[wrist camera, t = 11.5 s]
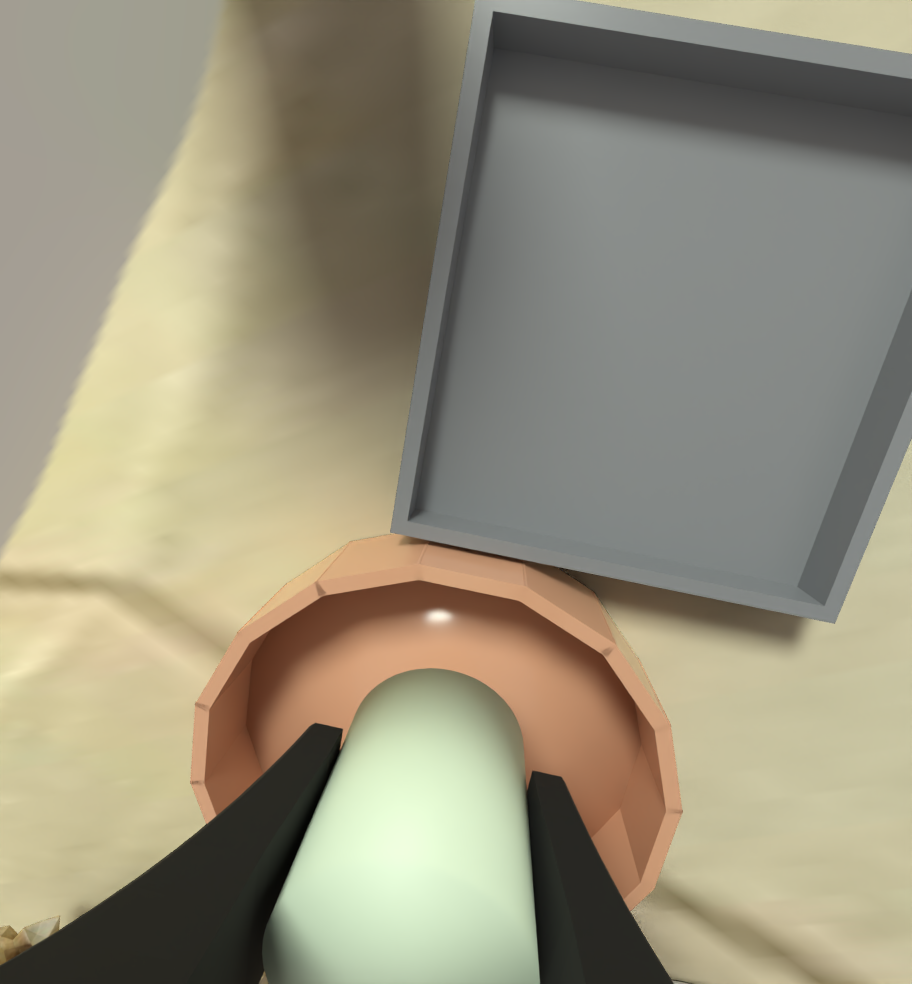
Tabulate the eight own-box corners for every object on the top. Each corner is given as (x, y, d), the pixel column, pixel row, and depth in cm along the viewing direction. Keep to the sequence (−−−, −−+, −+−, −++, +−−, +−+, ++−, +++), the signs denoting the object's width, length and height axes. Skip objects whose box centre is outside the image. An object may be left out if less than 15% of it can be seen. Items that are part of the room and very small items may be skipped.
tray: (975, 122, 11) (1060, 78, 10) (794, 593, 14) (834, 623, 13) (481, 41, 12) (478, -16, 10) (403, 513, 15) (389, 532, 13)
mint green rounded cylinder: (543, 692, 11) (573, 903, 7) (500, 835, 12) (502, 1101, 8) (366, 650, 11) (279, 830, 7) (338, 794, 12) (247, 1034, 8)
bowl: (699, 580, 15) (749, 631, 12) (588, 916, 18) (605, 1022, 15) (262, 491, 15) (206, 519, 12) (231, 833, 18) (181, 920, 15)
